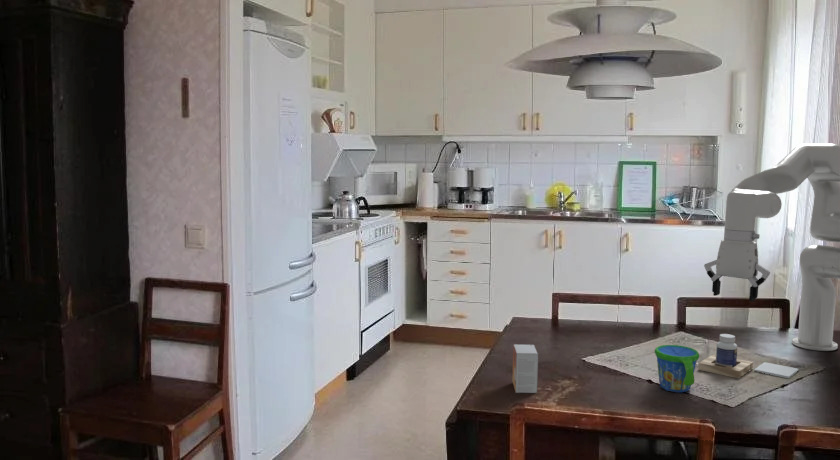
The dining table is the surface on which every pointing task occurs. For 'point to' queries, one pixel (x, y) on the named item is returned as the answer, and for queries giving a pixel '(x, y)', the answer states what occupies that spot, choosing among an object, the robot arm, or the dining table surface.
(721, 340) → the pill bottle
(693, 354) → the snack cup
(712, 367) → the socket plate
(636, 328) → the dining table surface
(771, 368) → the coaster
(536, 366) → the small box
